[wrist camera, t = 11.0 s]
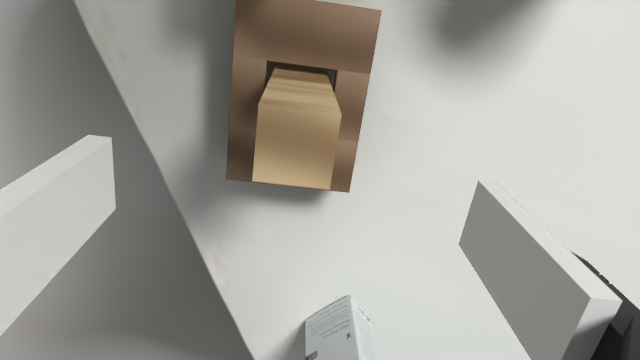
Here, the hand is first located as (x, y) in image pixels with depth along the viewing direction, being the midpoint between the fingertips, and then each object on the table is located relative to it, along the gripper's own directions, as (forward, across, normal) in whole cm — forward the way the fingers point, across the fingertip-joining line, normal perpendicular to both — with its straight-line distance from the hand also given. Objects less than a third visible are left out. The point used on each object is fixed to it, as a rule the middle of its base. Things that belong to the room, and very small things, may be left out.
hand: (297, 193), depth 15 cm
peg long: (+22, 0, -1) cm, 22 cm away
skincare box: (+22, +7, -25) cm, 34 cm away
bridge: (+22, 0, -1) cm, 22 cm away
